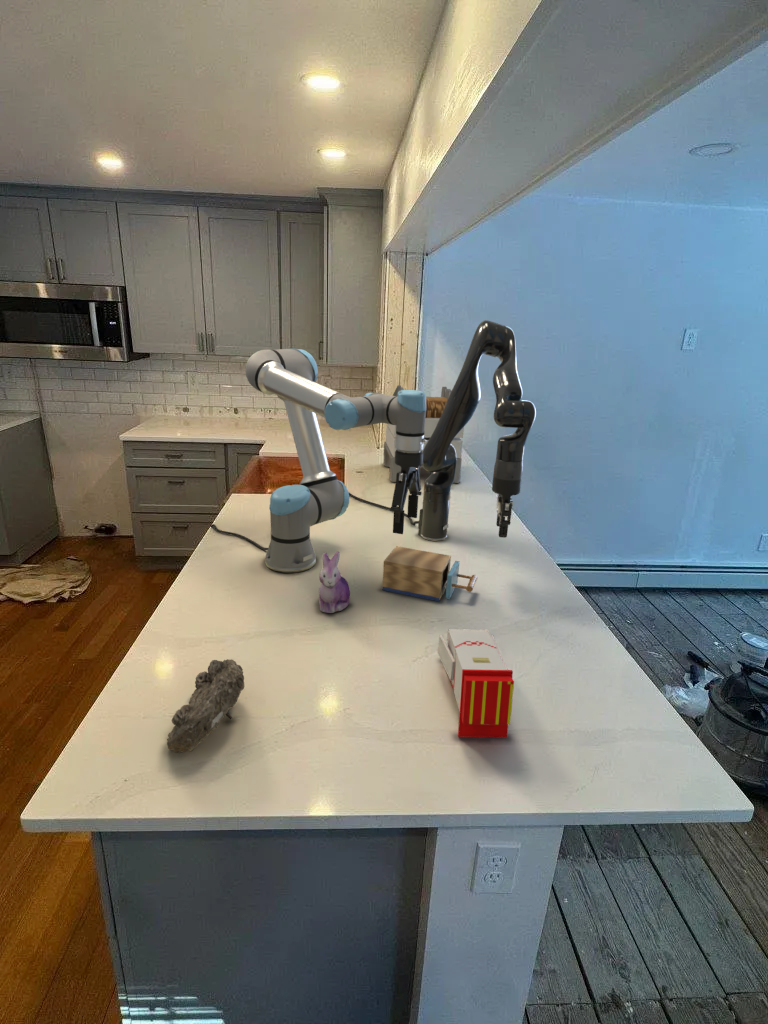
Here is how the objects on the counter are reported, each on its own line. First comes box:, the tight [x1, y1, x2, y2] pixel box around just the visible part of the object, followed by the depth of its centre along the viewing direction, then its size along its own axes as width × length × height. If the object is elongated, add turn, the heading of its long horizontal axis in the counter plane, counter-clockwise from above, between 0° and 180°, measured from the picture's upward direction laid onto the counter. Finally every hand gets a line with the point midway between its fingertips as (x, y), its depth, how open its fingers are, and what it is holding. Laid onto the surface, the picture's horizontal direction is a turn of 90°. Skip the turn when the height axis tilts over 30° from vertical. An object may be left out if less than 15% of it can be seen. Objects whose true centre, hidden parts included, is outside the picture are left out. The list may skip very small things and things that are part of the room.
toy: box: [437, 628, 515, 738], centre depth 117 cm, size 12×13×30 cm
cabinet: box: [381, 545, 452, 602], centre depth 161 cm, size 16×11×9 cm
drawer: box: [441, 560, 478, 600], centre depth 159 cm, size 21×10×7 cm, turn 71°
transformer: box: [383, 384, 465, 484], centre depth 268 cm, size 34×33×41 cm
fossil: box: [166, 658, 245, 754], centre depth 106 cm, size 22×10×15 cm
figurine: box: [318, 551, 351, 614], centre depth 147 cm, size 9×10×15 cm
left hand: (405, 525), depth 157 cm, fingers open, 13 cm apart
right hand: (501, 531), depth 158 cm, fingers open, 8 cm apart
